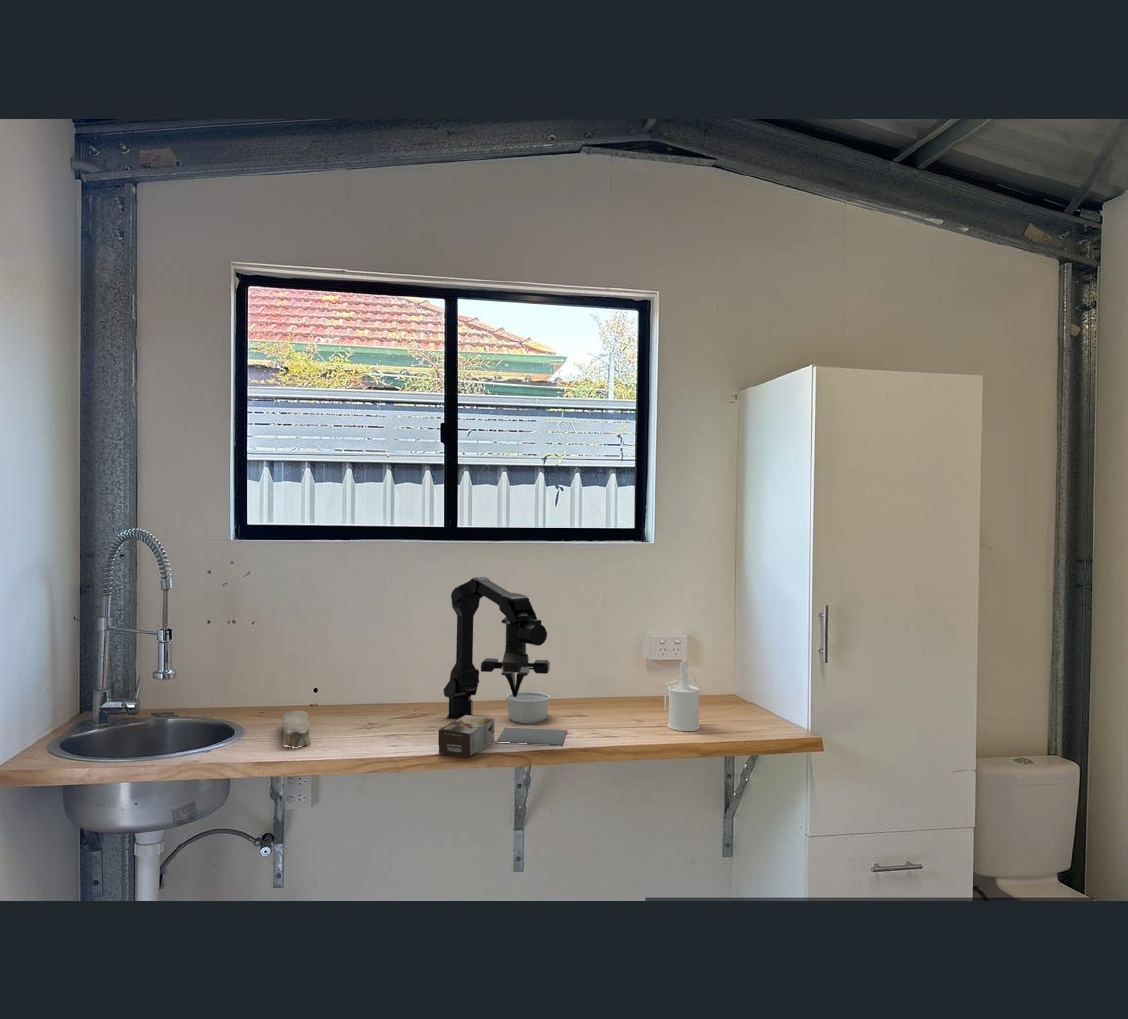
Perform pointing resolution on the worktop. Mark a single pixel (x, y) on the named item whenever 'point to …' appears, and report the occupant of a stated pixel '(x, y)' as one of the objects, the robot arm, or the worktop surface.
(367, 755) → the worktop surface
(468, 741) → the coffee box
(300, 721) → the shoe brush
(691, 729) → the oil can
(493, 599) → the robot arm
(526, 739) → the mat
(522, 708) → the ramekin
